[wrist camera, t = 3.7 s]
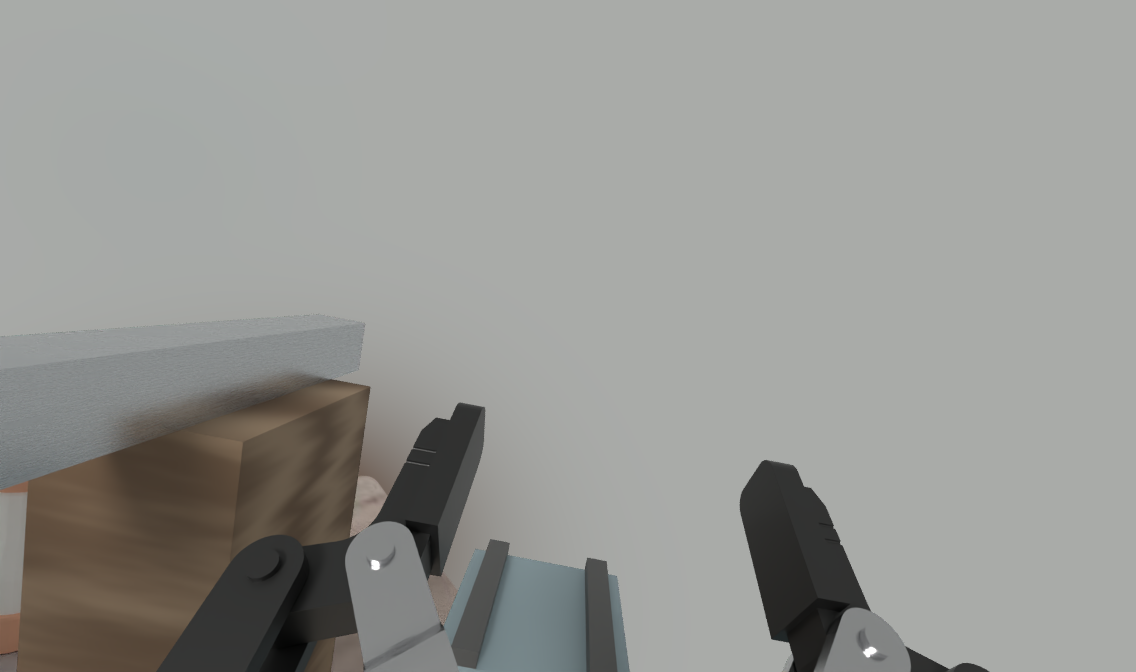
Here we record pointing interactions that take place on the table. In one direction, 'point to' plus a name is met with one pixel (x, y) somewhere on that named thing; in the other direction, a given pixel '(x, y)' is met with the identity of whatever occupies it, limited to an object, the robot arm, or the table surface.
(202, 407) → the steel bar
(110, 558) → the tall stand
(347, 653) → the table surface
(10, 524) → the pepper shaker
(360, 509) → the table surface
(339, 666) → the table surface
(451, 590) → the table surface
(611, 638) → the blue grey angular block
